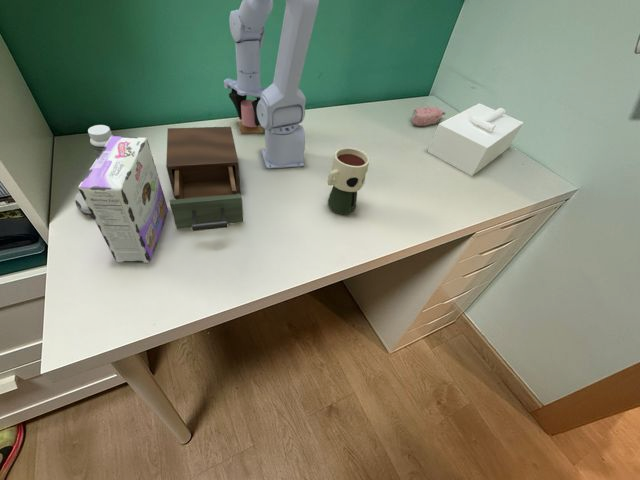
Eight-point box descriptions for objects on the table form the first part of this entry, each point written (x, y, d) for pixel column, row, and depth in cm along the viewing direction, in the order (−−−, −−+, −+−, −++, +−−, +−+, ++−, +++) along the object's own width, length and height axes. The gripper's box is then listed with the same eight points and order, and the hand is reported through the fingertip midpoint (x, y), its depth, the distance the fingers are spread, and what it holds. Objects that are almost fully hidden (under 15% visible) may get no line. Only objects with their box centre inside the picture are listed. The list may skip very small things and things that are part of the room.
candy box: (138, 209, 65) (110, 133, 53) (169, 210, 66) (148, 136, 54) (114, 263, 56) (74, 186, 44) (151, 263, 57) (121, 188, 45)
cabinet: (240, 193, 72) (238, 162, 66) (174, 198, 69) (166, 166, 63) (233, 156, 82) (230, 126, 76) (174, 159, 78) (167, 128, 72)
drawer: (246, 239, 62) (245, 214, 58) (176, 247, 59) (169, 222, 54) (235, 181, 74) (233, 157, 69) (176, 185, 70) (170, 160, 66)
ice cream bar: (453, 111, 107) (421, 116, 101) (447, 123, 110) (416, 129, 104) (440, 102, 110) (408, 107, 104) (435, 114, 114) (403, 119, 107)
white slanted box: (427, 151, 95) (441, 115, 87) (467, 128, 109) (482, 95, 101) (471, 176, 89) (491, 139, 81) (508, 148, 102) (528, 115, 94)
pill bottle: (115, 171, 72) (101, 137, 66) (95, 167, 73) (80, 132, 66) (128, 160, 76) (116, 126, 70) (109, 156, 76) (95, 122, 70)
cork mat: (259, 122, 95) (259, 120, 94) (263, 133, 91) (263, 131, 91) (238, 123, 93) (238, 121, 93) (241, 134, 89) (241, 132, 89)
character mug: (333, 225, 69) (344, 174, 59) (312, 206, 72) (319, 155, 63) (369, 207, 74) (383, 158, 65) (348, 190, 78) (359, 141, 68)
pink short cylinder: (262, 122, 92) (262, 103, 88) (253, 129, 89) (252, 109, 85) (248, 117, 93) (247, 97, 89) (238, 123, 90) (237, 103, 86)
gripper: (214, 65, 80) (219, 118, 90) (264, 82, 76) (264, 135, 86) (231, 58, 84) (235, 109, 94) (280, 74, 81) (278, 125, 91)
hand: (250, 121), depth 91 cm, fingers closed on pink short cylinder, 5 cm apart
